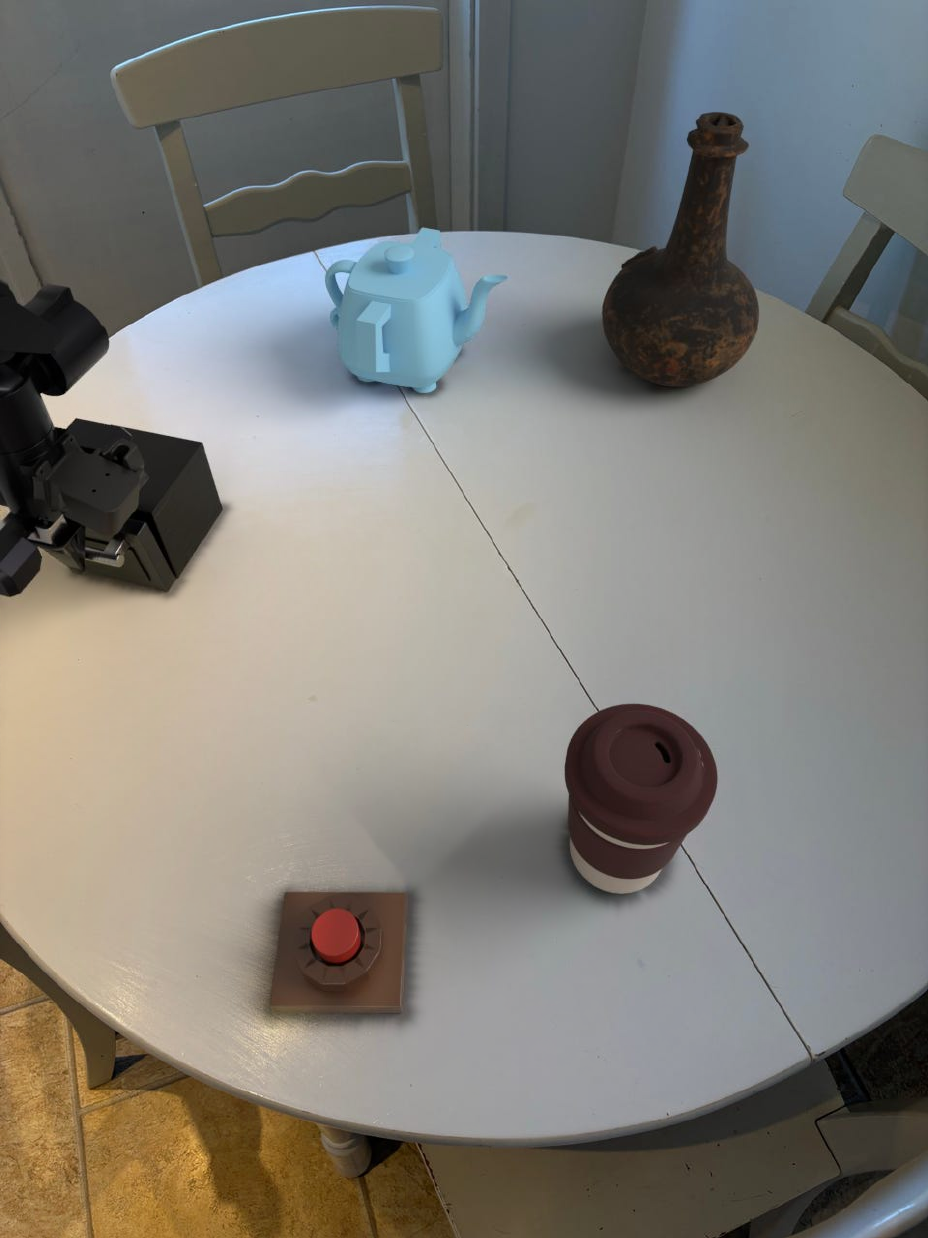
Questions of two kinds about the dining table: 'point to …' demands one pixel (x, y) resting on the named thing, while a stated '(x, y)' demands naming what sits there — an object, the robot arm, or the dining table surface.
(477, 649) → the dining table surface
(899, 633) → the dining table surface
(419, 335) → the teapot
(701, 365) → the glass bottle
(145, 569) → the oven door
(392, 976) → the control block
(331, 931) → the button
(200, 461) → the oven
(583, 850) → the coffee cup
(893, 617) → the dining table surface
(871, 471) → the dining table surface
